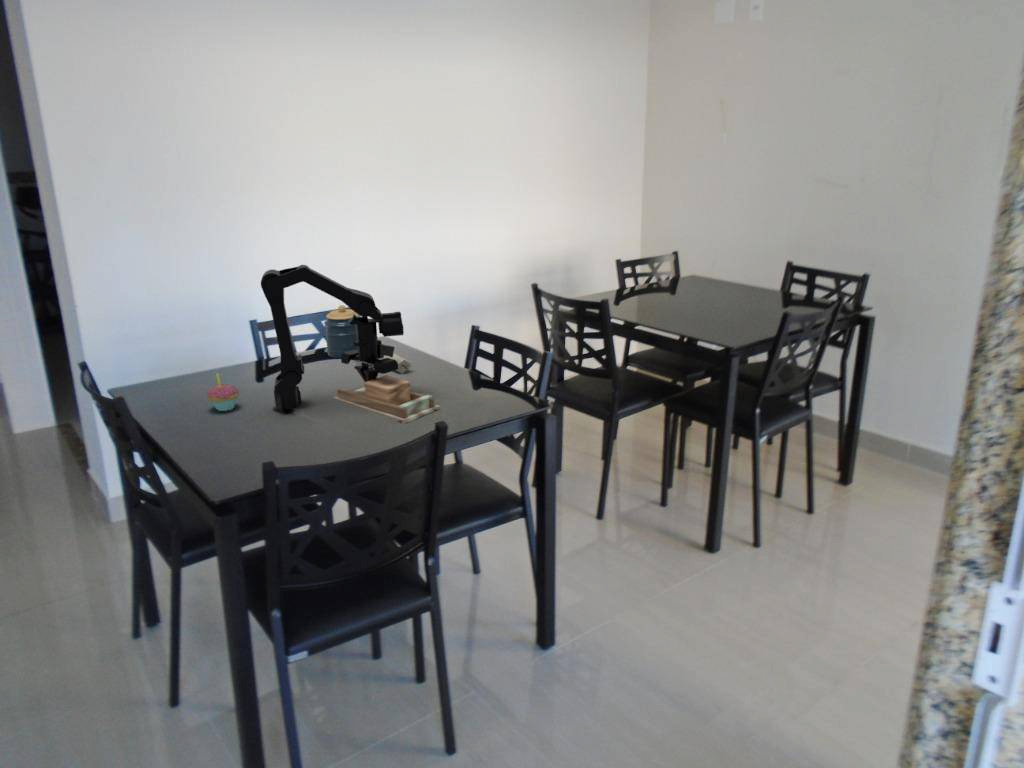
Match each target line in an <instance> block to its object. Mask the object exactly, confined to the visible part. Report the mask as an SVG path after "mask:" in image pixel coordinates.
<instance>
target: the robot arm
mask: <svg viewBox="0 0 1024 768" xmlns="http://www.w3.org/2000/svg"><path fill="white" fill-rule="evenodd" d="M300 283H306V284H308V285H310V286H311V287H314V288H315V289H317V290H320V291H321V292H323V293H325V294H327V295H329V296H331V297H333V298H335V299H337V300H339V301H340V302H342V303H343V304H345V305H346V306H347V307H348V309H351V310H353V311H354V312H356V313H357V314H358V315H359V316H358V317H357V316H356V315H355V314H354V315H353V317H352V318H351V319H349V324H350V325H354V324H356V332H357V341H356V342H354V345H355V346H358V350H352V351H348V352H345V353H343V354H342V356H341V358H340V363H341V364H344V365H345V364H346V365H349V364H350V363H351V361H354V362H355V366H354V370H356V371H357V373H358V374H359V376H360V377H361V379H362V380H363V382H364V383H365V382H367V381H370V380H373V379H376V378H378V375H379V374H382V375H383V374H384V375H385V374H387V373H390V372H393V371H396V370H397V369H398V362H397V361H396V360H394V359H390V358H385V359H382V360H379V359H378V358H384V356H390V357H393V353H395V346H392V345H388V344H385V343H384V344H385V345H384V344H382V342H381V341H382V340H381V339H380V340H378V339H379V338H378V332H379V334H380V335H382V336H383V337H396V336H404V332H405V331H404V324H403V319H402V313H401V311H394V312H386V313H385V312H384V313H382V311H381V310H380V309H379V308H378V307H377V306H376V301H375V299H374V298H373V296H372V294H370V293H368V292H365V291H362V290H358V289H353V288H350V287H347V286H345V285H343V284H341V283H339V282H337V281H335V280H333V279H331V278H330V277H327V276H325V275H324V274H322V273H320V272H318V271H316V270H314V269H312V268H311V267H309V266H308V265H306V264H300V265H298V266H294V267H289V268H283V269H280V270H276V269H269V270H266V271H265V272H264V273H263V274H262V277H261V280H260V286H261V290H262V292H263V295H264V297H265V299H266V300H267V303H268V305H269V307H270V311H271V316H272V321H273V324H274V331H275V334H276V339H277V345H278V350H279V353H280V372H279V374H277V376H276V377H275V378H274V387H273V396H274V405H275V406H273V407H272V410H273V411H276V412H279V413H282V414H285V415H288V414H290V413H293V412H295V411H296V410H295V408H297V407H299V406H301V405H302V403H303V402H302V393H301V390H300V388H299V386H298V385H299V384H300V383H301V382H302V379H303V375H305V365H304V364H303V359H302V357H303V356H302V355H303V354H298V355H297V353H296V351H295V349H294V343H293V338H292V333H291V329H290V324H289V320H288V314H287V309H286V304H285V288H289V287H291V286H292V287H293V286H294V285H297V284H300ZM368 317H369V318H368ZM377 324H378V325H377ZM377 326H378V328H377ZM377 338H378V339H377Z"/></svg>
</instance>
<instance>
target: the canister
mask: <svg viewBox="0 0 1024 768" xmlns="http://www.w3.org/2000/svg"><path fill="white" fill-rule="evenodd" d="M354 314H355V315H356V316H357V317H360V315H358V314H357V313H356V312H354V311H353V310H352V309H350V308H346V306H345V305H343V304H341V305H339V306H338V307H337V309H334V310H330V312H329V313H327V314H326V315H325V317H326V320H325V321H324V322H323V324H324V325H325V327H326V328H325V337H326V339H325V340H326V352H327V355H328V356H329V357H330V358H334V359H341V356H342V354H343V353H345V352H348V351H352V350H358V346H355V345H354V342H356V341H357V332H356V324H354V325H350V324H349V319H351V318H352V317H353V315H354Z"/></svg>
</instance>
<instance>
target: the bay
mask: <svg viewBox="0 0 1024 768" xmlns="http://www.w3.org/2000/svg"><path fill="white" fill-rule="evenodd" d="M336 390H337V396H335V397H333V399H335V400H338V401H341V402H345V403H348V404H350V405H354V406H357V407H360V408H363V409H366V410H369V411H372V412H375V413H378V414H381V415H385V416H388V417H391V418H393V419H397V420H398V421H397V423H399V422H401V423H400V424H402V423H403V425H405V424H407V423H406V422H408V423H410V422H412V421H414V419H415V420H417V419H420V418H422V417H424V416H423V415H425V414H427V413H430V412H432V411H434V410H437V409H439V408H440V409H441V406H440V405H437V404H435V397H434V395H431V394H426V395H425V394H422V393H418V392H415V391H411V390H410V398H411V401H410V402H407V403H404V404H402V405H399V406H397V405H394V404H391V403H388V402H384V401H381V400H378V399H375V398H371V397H368V396H366V392H365V386H363V387H361V388H358V389H355V390H352V391H351V390H348V389H345V388H338V389H336ZM440 409H439V410H440ZM437 411H438V410H437ZM434 412H435V411H434ZM432 413H433V412H432ZM430 414H431V413H430ZM427 415H428V414H427ZM421 416H422V417H421ZM425 416H426V415H425ZM419 417H420V418H419ZM416 418H417V419H416ZM409 421H410V422H409ZM404 423H405V424H404Z"/></svg>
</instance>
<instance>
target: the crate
mask: <svg viewBox="0 0 1024 768" xmlns="http://www.w3.org/2000/svg"><path fill="white" fill-rule="evenodd" d="M363 387H365V392H366V396H368V397H371V398H375V399H378V400H381V401H384V402H388V403H391V404H394V405H397V406H399V405H402V404H404V403H407V402H410V401H411V398H410V391H411V383H410V381H407V380H405V379H400V378H397V377H394V376H389V375H385V374H384V375H382V376H379V377H377V378H376V379H373V380H370V381H367V382H364V384H363Z"/></svg>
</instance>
